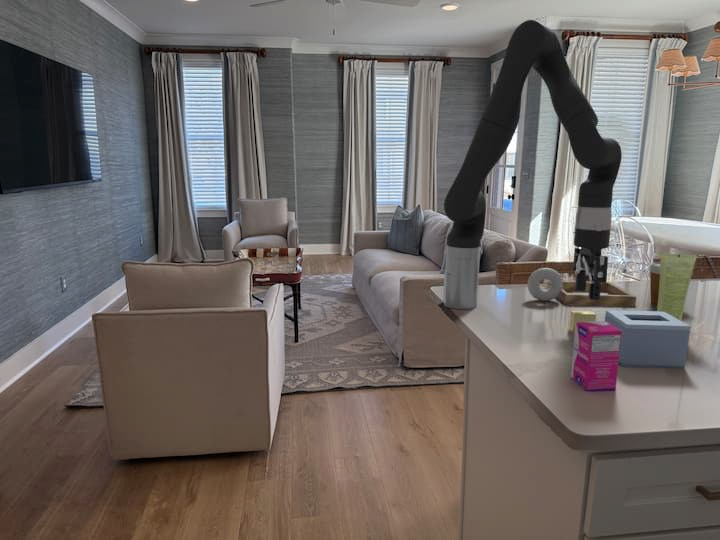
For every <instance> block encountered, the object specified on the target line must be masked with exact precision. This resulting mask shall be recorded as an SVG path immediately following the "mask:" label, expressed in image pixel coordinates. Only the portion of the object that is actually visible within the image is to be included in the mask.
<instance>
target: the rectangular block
mask: <svg viewBox="0 0 720 540" xmlns="http://www.w3.org/2000/svg"><path fill="white" fill-rule="evenodd" d="M590 321H597V313H595V312H594V311H592V310H591V311H589V310H570V317H569V328H568V330H569V331H570V332H571V333H572V334H575V324H576V322H590Z"/></svg>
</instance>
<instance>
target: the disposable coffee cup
mask: <svg viewBox="0 0 720 540" xmlns="http://www.w3.org/2000/svg"><path fill="white" fill-rule="evenodd" d="M648 270H649V272H650V277H649V278H650V281H649V282H650V285H649V286H650V305H651V306H653V307H656V308H658V297H659V284H660V262H651V264H650V266H649V267H648Z"/></svg>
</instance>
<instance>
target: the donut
mask: <svg viewBox="0 0 720 540" xmlns="http://www.w3.org/2000/svg"><path fill="white" fill-rule="evenodd" d="M543 280H547V281H550V282H551V285H550V287H549V288H548V289H547V288H546V289H542V288H541V286H540V283H541V282H542V281H543ZM563 281H564V280H563V278H562V276H561V274H560V273H559V272H558V271H557V270H555V269H553V268H549V267H540V268H537V269H536V270H534V271H533V272H532V273H531V274H530V276H529V278H528V280H527V290H528V291H529V295H531V297H533V298H534V299H536V300H537V301H540V300H541V301H540V302H549V301H552V300H554V299H557V296H558V295H559V294H560V292H561V291H562V287H563Z"/></svg>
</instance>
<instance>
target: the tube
mask: <svg viewBox="0 0 720 540" xmlns="http://www.w3.org/2000/svg"><path fill="white" fill-rule="evenodd" d="M697 258H698V257H697V255H696V254H683V253H682V254H680V253H679V254H678V253H666V252H660V254H659V263H660V284H659V297H658V307H656V309H657V310H656V311H659V312H666V313H667V314H669V315H671V316H673V317H675V318H677V319H678V320H680V321H682V320H683V314H684V310H685V304H686V301H687V295H688V292H689V291H688V290H689V286H690V283H691V279H692V274H693V271H694V267H695V265H696V264H695V263H696V261H697ZM682 322H683V321H682Z"/></svg>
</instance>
